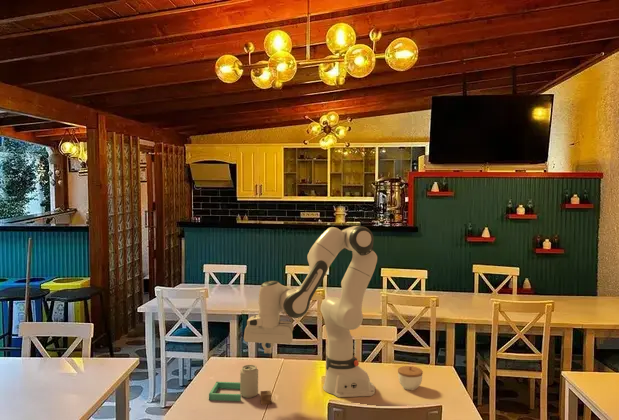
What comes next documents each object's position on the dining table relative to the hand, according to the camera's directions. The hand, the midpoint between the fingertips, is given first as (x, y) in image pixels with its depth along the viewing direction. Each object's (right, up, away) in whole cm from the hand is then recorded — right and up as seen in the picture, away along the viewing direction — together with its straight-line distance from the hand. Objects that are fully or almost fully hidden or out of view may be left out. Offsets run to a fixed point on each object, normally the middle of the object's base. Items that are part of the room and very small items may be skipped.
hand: (267, 352), depth 210 cm
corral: (-17, -18, +2) cm, 25 cm away
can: (-8, -18, +2) cm, 20 cm away
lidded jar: (+62, -19, +12) cm, 66 cm away
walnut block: (0, -19, -5) cm, 19 cm away
